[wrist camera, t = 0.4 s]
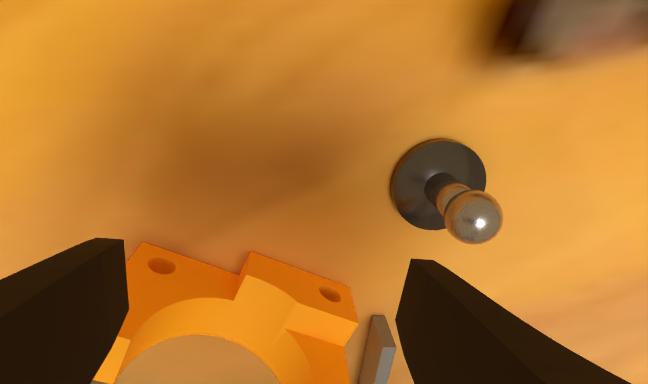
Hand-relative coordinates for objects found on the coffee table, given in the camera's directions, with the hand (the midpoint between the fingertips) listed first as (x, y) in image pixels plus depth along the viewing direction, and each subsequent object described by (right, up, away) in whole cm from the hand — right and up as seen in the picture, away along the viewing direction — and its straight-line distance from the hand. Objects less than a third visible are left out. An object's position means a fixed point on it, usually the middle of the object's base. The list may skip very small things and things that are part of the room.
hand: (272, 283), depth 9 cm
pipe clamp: (-3, -3, +12) cm, 13 cm away
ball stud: (+7, +3, +10) cm, 13 cm away
